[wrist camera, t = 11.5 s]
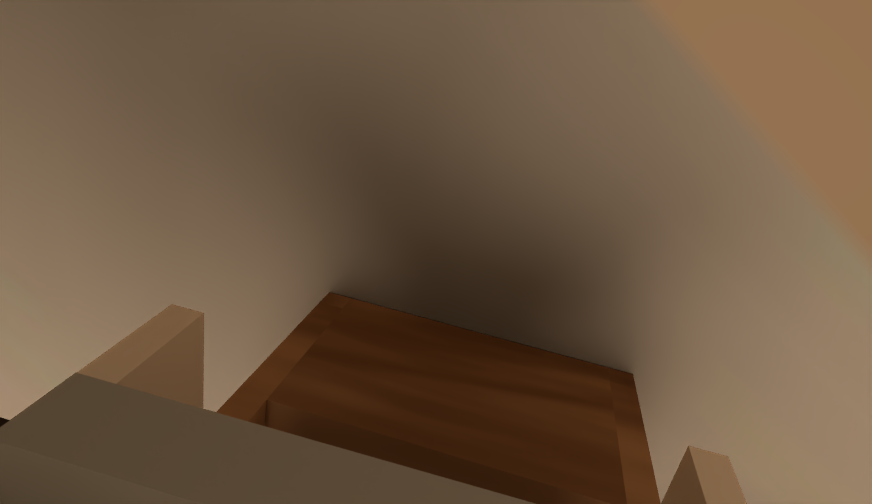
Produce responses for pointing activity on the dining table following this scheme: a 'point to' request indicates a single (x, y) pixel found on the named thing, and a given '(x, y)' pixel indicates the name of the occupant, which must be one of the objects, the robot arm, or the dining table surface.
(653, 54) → the dining table surface
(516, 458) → the walnut box
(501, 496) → the slate lid
